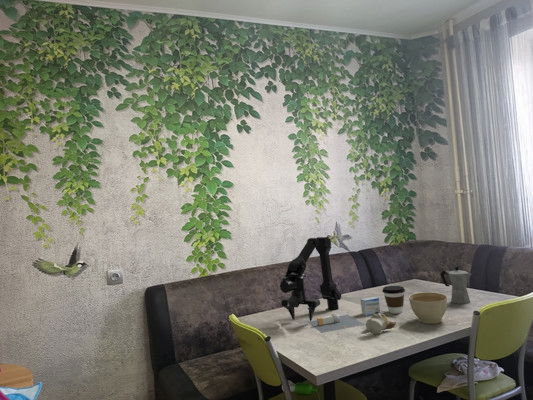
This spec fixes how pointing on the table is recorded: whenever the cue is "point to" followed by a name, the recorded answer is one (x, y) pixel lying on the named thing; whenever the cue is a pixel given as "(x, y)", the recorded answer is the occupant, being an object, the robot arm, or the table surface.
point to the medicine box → (370, 306)
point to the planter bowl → (428, 306)
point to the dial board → (337, 324)
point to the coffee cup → (394, 298)
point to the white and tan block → (328, 319)
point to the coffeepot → (458, 285)
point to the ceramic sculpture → (378, 323)
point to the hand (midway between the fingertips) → (302, 320)
